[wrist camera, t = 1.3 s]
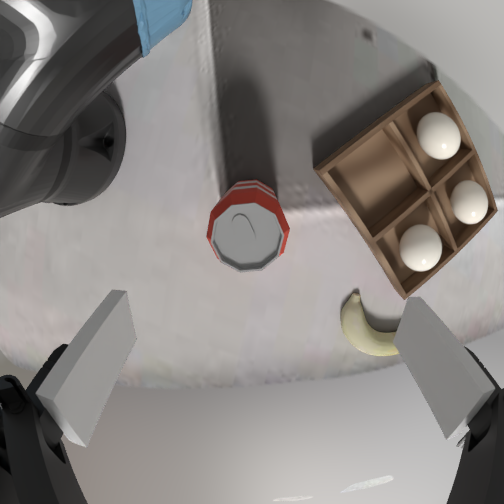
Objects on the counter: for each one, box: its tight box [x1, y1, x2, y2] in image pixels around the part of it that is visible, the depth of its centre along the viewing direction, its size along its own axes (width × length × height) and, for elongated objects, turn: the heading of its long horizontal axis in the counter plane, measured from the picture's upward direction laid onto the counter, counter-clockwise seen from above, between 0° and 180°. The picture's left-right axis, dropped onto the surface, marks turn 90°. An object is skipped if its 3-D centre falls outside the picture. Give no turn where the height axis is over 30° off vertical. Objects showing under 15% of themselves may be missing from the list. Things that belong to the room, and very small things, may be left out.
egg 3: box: [450, 180, 488, 224], centre depth 27 cm, size 6×6×6 cm
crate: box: [314, 80, 498, 300], centre depth 28 cm, size 20×20×3 cm
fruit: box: [341, 293, 399, 356], centre depth 36 cm, size 7×15×3 cm, turn 64°
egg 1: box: [417, 112, 461, 159], centre depth 24 cm, size 6×6×6 cm
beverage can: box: [207, 179, 290, 272], centre depth 25 cm, size 6×6×12 cm
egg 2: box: [399, 224, 442, 271], centre depth 29 cm, size 6×6×6 cm
